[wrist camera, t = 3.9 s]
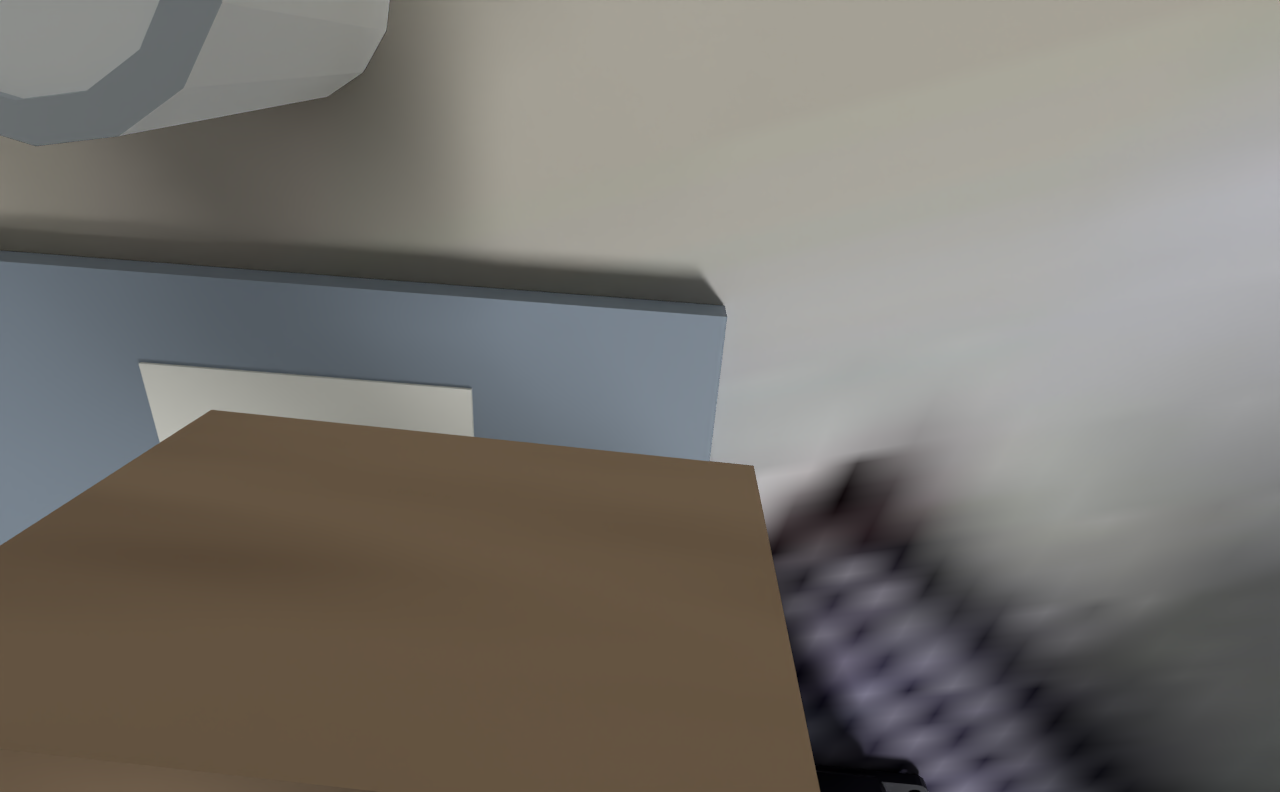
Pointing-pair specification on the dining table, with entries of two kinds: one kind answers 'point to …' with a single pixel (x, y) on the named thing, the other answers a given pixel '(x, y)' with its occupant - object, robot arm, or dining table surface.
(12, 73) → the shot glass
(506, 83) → the dining table surface
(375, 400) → the board
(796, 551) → the dining table surface
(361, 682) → the walnut block
